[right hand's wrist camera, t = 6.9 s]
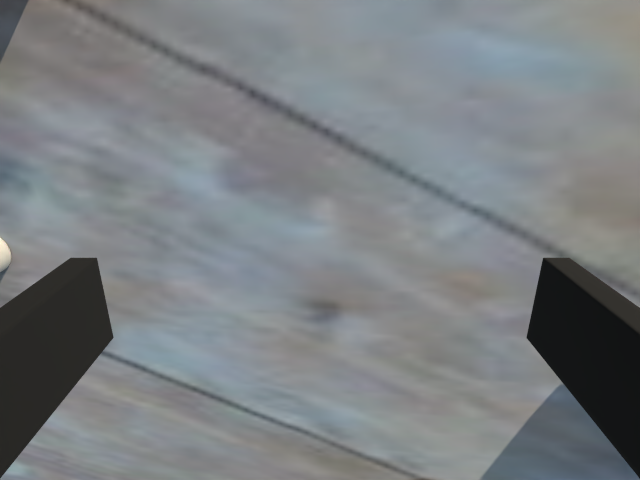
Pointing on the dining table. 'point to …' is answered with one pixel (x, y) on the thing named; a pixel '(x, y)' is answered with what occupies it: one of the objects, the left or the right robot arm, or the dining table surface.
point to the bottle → (4, 255)
